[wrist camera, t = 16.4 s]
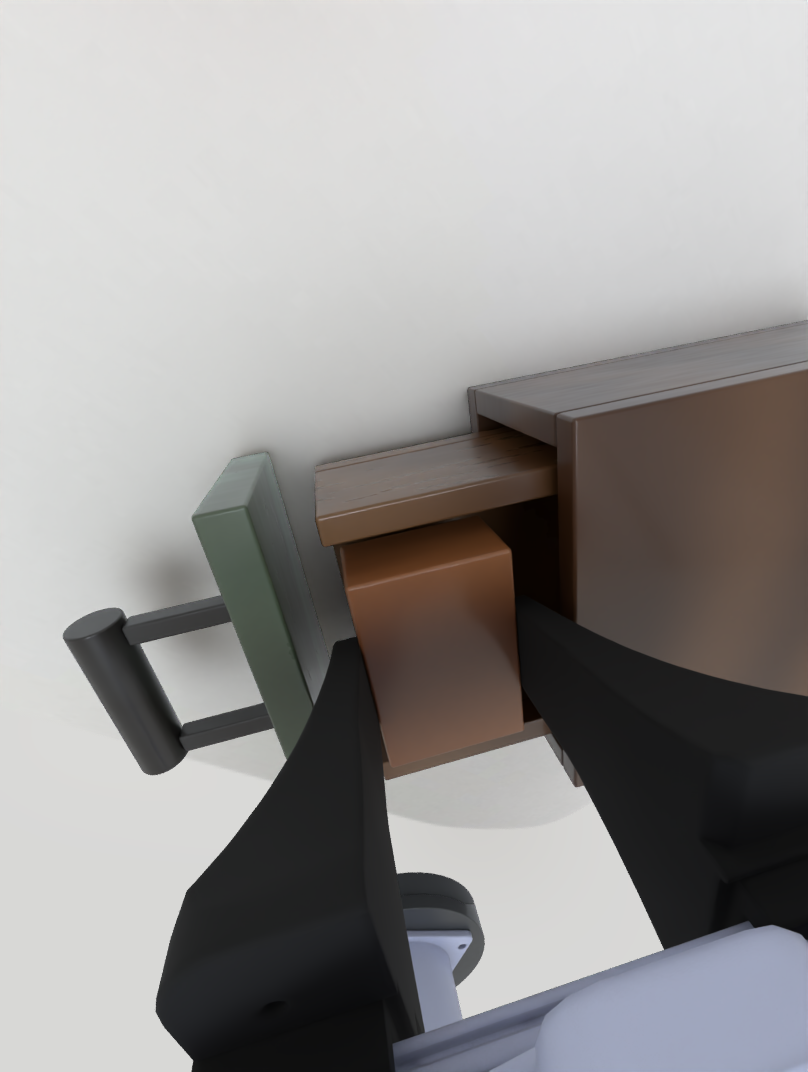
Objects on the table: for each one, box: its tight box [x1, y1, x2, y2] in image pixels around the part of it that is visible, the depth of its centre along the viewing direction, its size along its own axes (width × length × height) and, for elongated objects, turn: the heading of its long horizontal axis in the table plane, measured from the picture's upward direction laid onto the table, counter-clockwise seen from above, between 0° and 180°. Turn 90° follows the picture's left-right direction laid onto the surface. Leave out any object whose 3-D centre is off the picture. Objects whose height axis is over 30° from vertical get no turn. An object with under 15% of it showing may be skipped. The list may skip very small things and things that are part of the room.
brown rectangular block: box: [340, 516, 524, 768], centre depth 13 cm, size 6×4×2 cm, turn 9°
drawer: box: [63, 426, 560, 780], centre depth 14 cm, size 17×10×5 cm, turn 99°
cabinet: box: [468, 320, 808, 787], centre depth 16 cm, size 14×12×7 cm
